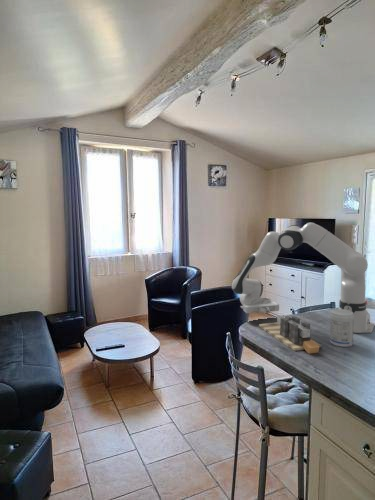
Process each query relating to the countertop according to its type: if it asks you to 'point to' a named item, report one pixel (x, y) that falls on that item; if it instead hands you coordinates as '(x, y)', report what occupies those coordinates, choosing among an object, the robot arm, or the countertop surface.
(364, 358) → the countertop surface
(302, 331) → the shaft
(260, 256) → the robot arm
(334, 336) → the supplement tub
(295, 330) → the wooden board
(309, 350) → the orange block
